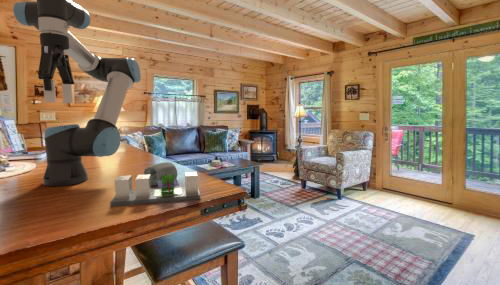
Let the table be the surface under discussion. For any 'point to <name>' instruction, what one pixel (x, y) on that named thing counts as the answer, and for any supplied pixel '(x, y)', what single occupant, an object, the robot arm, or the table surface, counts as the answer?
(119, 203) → the finger rail
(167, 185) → the geometric puzzle
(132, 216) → the table surface
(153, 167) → the grey rounded lump
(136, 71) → the robot arm
